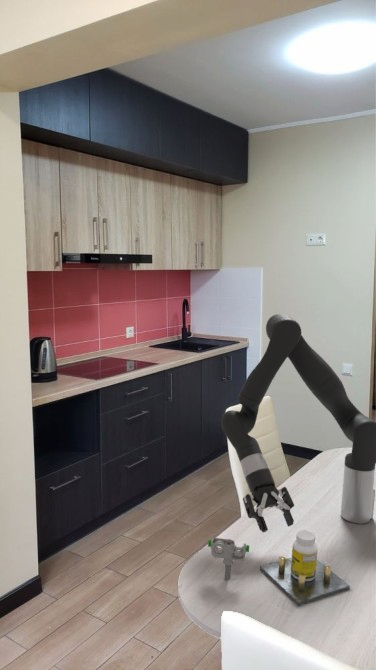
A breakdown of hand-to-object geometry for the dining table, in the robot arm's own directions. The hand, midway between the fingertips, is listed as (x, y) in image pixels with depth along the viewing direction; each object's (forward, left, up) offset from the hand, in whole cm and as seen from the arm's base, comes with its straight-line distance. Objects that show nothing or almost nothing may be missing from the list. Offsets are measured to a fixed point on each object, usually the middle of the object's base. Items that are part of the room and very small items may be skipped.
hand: (278, 528), depth 143 cm
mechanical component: (+18, +4, -8) cm, 20 cm away
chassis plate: (0, +12, -8) cm, 14 cm away
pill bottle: (0, +11, -7) cm, 14 cm away
